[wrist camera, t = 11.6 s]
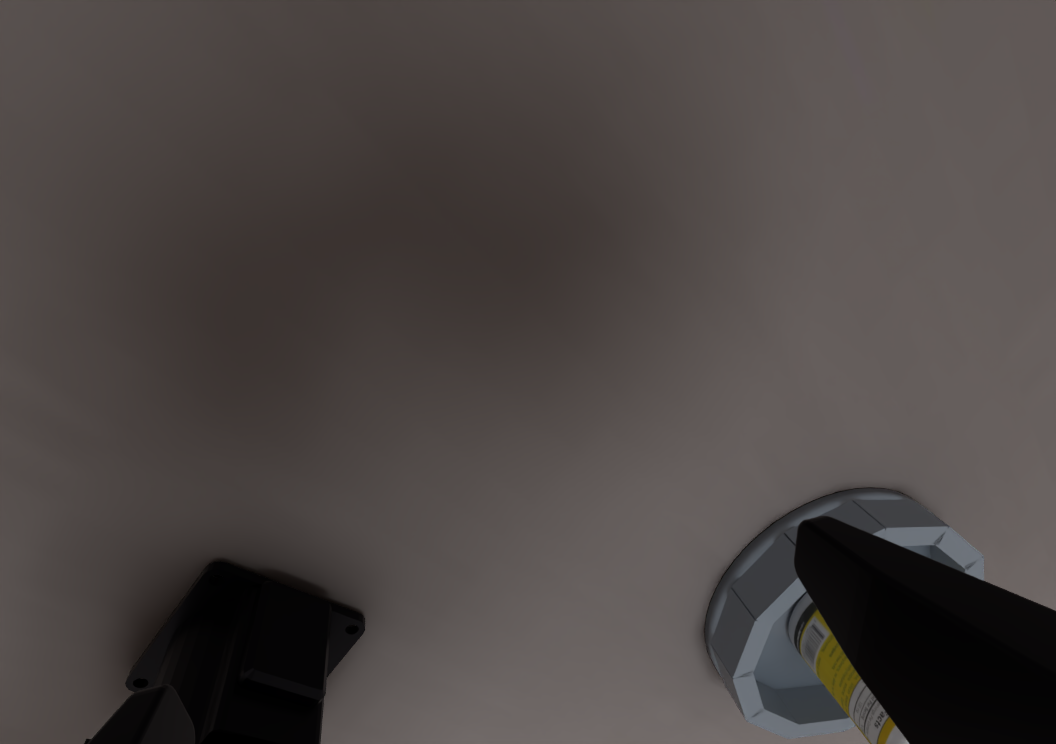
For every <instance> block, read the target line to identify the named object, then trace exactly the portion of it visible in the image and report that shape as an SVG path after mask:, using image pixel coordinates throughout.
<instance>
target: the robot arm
mask: <svg viewBox="0 0 1056 744" xmlns="http://www.w3.org/2000/svg"><path fill="white" fill-rule="evenodd" d="M794 567H795V571H796V574H797V576H798V578H799V580H800V581H801V583H802V585H803V586H804V588H805V590H806V591H807V593H808V595H809V596H810V598H811V599H812V601H813V603H814V604H815V606H816V608H817V609H818V611H819V613H820V614H821V616H822V618H823V619H824V621H825V623H826V624H827V626H828V627H829V629H830V631H831V632H832V634H833V636H834V637H835V639H836V641H837V642H838V644H839V646H840V647H841V649H842V650H843V652H844V654H845V655H846V657H847V658H848V660H849V661H850V663H851V665H852V666H853V668H854V669H855V671H856V672H857V673H858V675H859V676H860V678H861V679H862V680H863V682H864V683H865V685H866V686H867V687H868V689H869V690H870V691H871V693H872V694H873V695H874V697H875V698H876V699H877V701H878V702H879V703H880V705H881V706H882V707H883V709H884V710H885V712H886V713H887V714H888V716H889V717H890V718H891V720H892V721H893V722H894V724H895V725H896V726H897V728H898V729H899V730H900V732H901V733H902V734H903V736H904V737H905V738H906V740H907V741H908V742H909V744H1056V611H1055V610H1053V609H1050V608H1048V607H1045V606H1043V605H1041V604H1038V603H1036V602H1033V601H1031V600H1029V599H1026V598H1024V597H1021V596H1019V595H1017V594H1014V593H1012V592H1009V591H1007V590H1005V589H1002V588H1000V587H998V586H995V585H993V584H990V583H988V582H986V581H983V580H981V579H978V578H976V577H974V576H971V575H969V574H966V573H964V572H962V571H959V570H957V569H954V568H952V567H950V566H947V565H945V564H943V563H940V562H938V561H935V560H933V559H931V558H928V557H926V556H923V555H921V554H919V553H916V552H914V551H911V550H909V549H907V548H904V547H902V546H899V545H897V544H895V543H892V542H890V541H888V540H885V539H883V538H880V537H878V536H876V535H873V534H871V533H868V532H866V531H864V530H861V529H859V528H856V527H854V526H852V525H849V524H847V523H844V522H842V521H840V520H837V519H835V518H832V517H830V516H818V517H814V518H810V519H807V520H803V521H802V522H801V523H800V524H799V525H798V529H797V537H796V545H795V553H794ZM213 575H221V576H223V577H222V578H216V577H214V576H213ZM349 625H356V626H353V627H351V626H349ZM364 631H365V618H364V616H363V615H362V614H360V613H358V612H355V611H352V610H350V609H347V608H344V607H342V606H339V605H337V604H334V603H331V602H329V601H326V600H323V599H321V598H318V597H315V596H313V595H310V594H308V593H305V592H302V591H300V590H297V589H294V588H292V587H289V586H286V585H284V584H281V583H279V582H276V581H273V580H271V579H268V578H265V577H263V576H260V575H257V574H255V573H252V572H250V571H247V570H244V569H242V568H239V567H236V566H234V565H231V564H229V563H225V562H221V561H220V562H213V563H211V564H209V565H208V566H207V567H206V568H205V569H204V570H203V572H202V573H201V575H200V576H199V577H198V579H197V580H196V581H195V583H194V584H193V585H192V587H191V588H190V590H189V591H188V592H187V594H186V595H185V596H184V598H183V599H182V601H181V602H180V603H179V605H178V606H177V607H176V609H175V610H174V612H173V613H172V614H171V616H170V617H169V618H168V620H167V621H166V623H165V624H164V625H163V627H162V628H161V629H160V631H159V632H158V634H157V635H156V636H155V638H154V639H153V640H152V642H151V643H150V645H149V646H148V647H147V649H146V650H145V651H144V653H143V654H142V655H141V657H140V658H139V660H138V661H137V662H136V664H135V665H134V666H133V668H132V669H131V671H130V673H129V676H128V678H127V680H126V687H127V688H128V689H129V690H131V691H133V692H135V693H134V694H132V695H131V696H130V697H129V698H128V699H127V700H126V701H125V702H124V703H123V704H122V705H121V707H120V708H119V709H118V710H117V711H116V712H115V713H114V714H113V716H112V717H111V718H110V719H109V720H108V721H107V722H106V723H105V725H104V726H103V727H102V728H101V729H100V730H99V731H98V732H97V734H96V735H95V736H94V737H93V738H92V739H86V741H85V743H84V744H320V742H321V730H322V717H323V705H324V696H325V693H326V680H327V677H328V676H329V674H330V673H331V672H332V671H333V670H334V668H335V667H336V666H337V665H338V663H339V662H340V661H341V660H342V659H343V657H344V656H345V655H346V654H347V653H348V651H349V650H350V649H351V648H352V646H353V645H354V644H355V643H356V642H357V640H358V639H359V638H360V637H361V636H362V634H363V633H364ZM141 678H144V679H141Z"/></svg>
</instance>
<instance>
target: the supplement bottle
mask: <svg viewBox="0 0 1056 744" xmlns="http://www.w3.org/2000/svg"><path fill="white" fill-rule="evenodd" d="M788 631H789V637H790V640H791V642H792V644H793V646H794V647H795V649H796V650H797V651H798V653H799V654H800V655H801V656H802V658H803V659H804V660H805V662H806V663H807V664H808V665H809V667H810V668H811V669H812V670H813V672H814V673H815V674H816V675H817V677H818V678H819V679H820V681H821V682H822V683H823V684H824V686H825V687H826V688H827V689H828V691H829V692H830V693H831V694H832V696H833V697H834V698H835V700H836V701H837V702H838V703H839V705H840V706H841V707H842V708H843V710H844V711H845V712H846V714H847V715H848V716H849V717H850V719H851V720H852V721H853V722H854V724H855V725H856V726H857V727H858V729H859V730H860V731H861V733H862V734H863V735H864V736H865V738H866V739H867V740H868V742H869V743H870V744H909V742H908V741H907V740H906V738H905V737H904V736H903V734H902V733H901V732H900V730H899V729H898V728H897V726H896V725H895V724H894V722H893V721H892V720H891V718H890V717H889V716H888V714H887V713H886V712H885V710H884V709H883V707H882V706H881V705H880V703H879V702H878V701H877V699H876V698H875V697H874V695H873V694H872V693H871V691H870V690H869V689H868V687H867V686H866V685H865V683H864V682H863V680H862V679H861V678H860V676H859V675H858V673H857V672H856V671H855V669H854V668H853V666H852V665H851V663H850V661H849V660H848V658H847V657H846V655H845V654H844V652H843V650H842V649H841V647H840V646H839V644H838V642H837V641H836V639H835V637H834V636H833V634H832V632H831V631H830V629H829V627H828V626H827V624H826V623H825V621H824V619H823V618H822V616H821V614H820V613H819V611H818V609H817V608H816V606H815V604H814V603H813V601H812V599H811V598H810V596H809V595H808V593H806V594H805V595H804V596H803V597H802V598H801V599H800V601H799V602H798V603H797V605H796V606H795V608H794V610H793V612H792V615H791V617H790V621H789V627H788Z"/></svg>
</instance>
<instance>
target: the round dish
mask: <svg viewBox="0 0 1056 744" xmlns="http://www.w3.org/2000/svg"><path fill="white" fill-rule="evenodd" d="M818 516H830V517H832V518H835V519H837V520H840V521H842V522H844V523H847V524H849V525H852V526H854V527H856V528H859V529H861V530H864V531H866V532H868V533H871V534H873V535H876V536H878V537H880V538H883V539H885V540H888V541H890V542H892V543H895V544H897V545H899V546H902V547H904V548H907V549H909V550H911V551H914V552H916V553H919V554H921V555H923V556H926V557H928V558H931V559H933V560H935V561H938V562H940V563H943V564H945V565H947V566H950V567H952V568H954V569H957V570H959V571H962V572H964V573H966V574H969V575H971V576H974V577H976V578H978V579H981V580H983V581H984V556H983V555H982V554H981V553H980V552H979V551H978V550H976V549H975V548H974V547H973V546H972V545H971V544H969V543H968V542H967V541H966V540H965V539H964V538H962V537H961V536H960V535H959V534H958V533H956V532H955V531H954V530H953V529H952V528H951V527H949V526H948V525H947V524H945V523H944V522H943V521H941V520H940V519H939V518H937V517H936V516H935V515H934V514H933V513H932V512H930V511H929V510H928V509H926V508H925V507H924V506H922V505H921V504H920V503H918V502H917V501H915V500H914V499H912V498H911V497H909V496H907V495H905V494H902V493H900V492H897V491H893V490H889V489H881V488H861V489H852V490H847V491H842V492H838V493H834V494H831V495H828V496H825V497H822V498H819V499H817V500H815V501H812V502H810V503H808V504H805V505H804V506H802V507H800V508H798V509H796V510H794V511H792V512H790V513H789V514H787V515H786V516H784V517H783V518H781V519H780V520H778V521H777V522H775V523H774V524H772V525H771V526H770V527H769V528H767V529H766V530H765V531H764V532H762V533H761V534H760V535H759V536H758V537H757V538H755V539H754V540H753V541H752V542H751V543H750V544H749V545H748V546H747V547H746V548H745V549H744V550H743V551H742V553H741V554H740V555H739V556H738V557H737V558H736V559H735V561H734V562H733V563H732V565H731V566H730V567H729V569H728V570H727V572H726V573H725V574H724V576H723V578H722V580H721V581H720V583H719V585H718V587H717V588H716V590H715V593H714V595H713V597H712V600H711V602H710V605H709V609H708V613H707V616H706V623H705V643H706V647H707V651H708V654H709V656H710V658H711V660H712V662H713V664H714V666H715V667H716V669H717V671H718V672H719V674H720V676H721V677H722V679H723V682H724V685H725V687H726V688H727V690H728V692H729V693H730V695H731V697H732V698H733V700H734V702H735V703H736V705H737V707H738V708H739V710H740V712H741V713H742V715H743V717H744V718H745V720H746V721H747V722H749V723H751V724H754V725H756V726H758V727H761V728H763V729H765V730H768V731H770V732H772V733H775V734H777V735H780V736H782V737H784V738H787V739H792V738H799V737H807V736H814V735H822V734H829V733H836V732H844V730H845V731H846V730H848V729H850V728H852V727H854V726H856V725H855V724H854V722H853V721H852V720H851V719H850V717H849V716H848V715H847V714H846V712H845V711H844V710H843V708H842V707H841V706H840V705H839V703H838V702H837V701H836V700H835V698H834V697H833V696H832V694H831V693H830V692H829V691H828V689H827V688H826V687H825V686H824V684H823V683H822V682H821V681H820V679H819V678H818V677H817V675H816V674H815V673H814V672H813V670H812V669H811V668H810V667H809V665H808V664H807V663H806V662H805V660H804V659H803V658H802V656H801V655H800V654H799V653H798V651H797V650H796V649H795V647H794V646H793V644H792V642H791V640H790V637H789V631H788V627H789V621H790V617H791V615H792V612H793V610H794V608H795V606H796V605H797V603H798V602H799V601H800V599H801V598H802V597H803V596H804V595H805V594H806V593H807V591H806V590H805V588H804V586H803V585H802V583H801V581H800V580H799V578H798V576H797V574H796V571H795V567H794V553H795V545H796V537H797V529H798V525H799V524H800V523H801V522H802V521H803V520H807V519H810V518H814V517H818Z"/></svg>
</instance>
